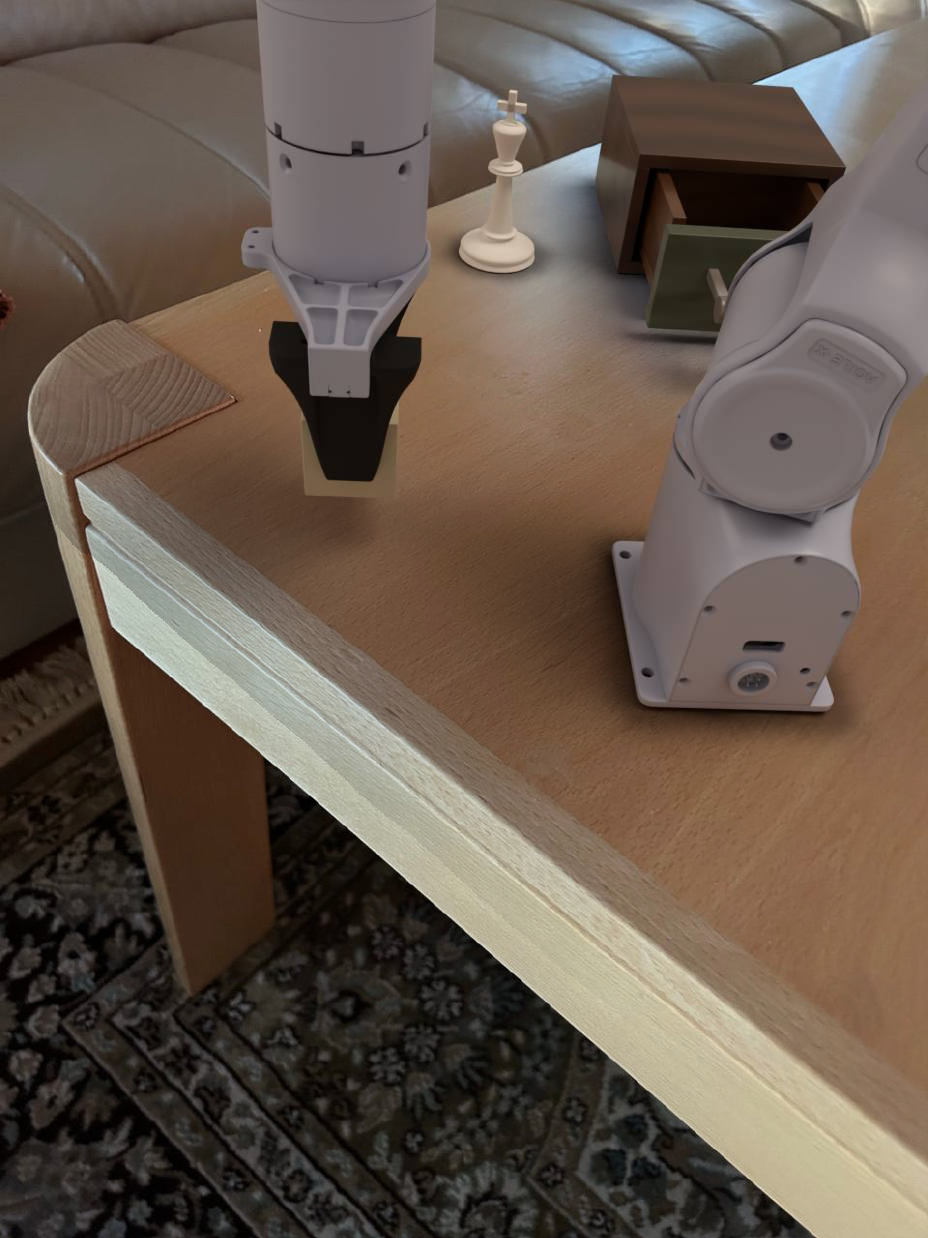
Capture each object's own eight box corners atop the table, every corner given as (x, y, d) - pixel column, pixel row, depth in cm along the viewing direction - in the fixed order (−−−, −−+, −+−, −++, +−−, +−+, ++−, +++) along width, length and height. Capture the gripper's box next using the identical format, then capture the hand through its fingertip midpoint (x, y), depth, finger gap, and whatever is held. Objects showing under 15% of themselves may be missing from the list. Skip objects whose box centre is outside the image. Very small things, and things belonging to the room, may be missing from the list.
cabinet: (806, 284, 67) (846, 166, 61) (616, 273, 66) (639, 153, 60) (762, 195, 76) (793, 86, 70) (594, 185, 75) (612, 73, 69)
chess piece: (528, 278, 64) (549, 112, 57) (451, 265, 65) (463, 99, 58) (539, 243, 68) (560, 83, 61) (467, 231, 68) (479, 70, 61)
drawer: (859, 383, 57) (899, 288, 53) (659, 373, 56) (683, 275, 52) (788, 242, 69) (815, 155, 64) (620, 232, 68) (637, 143, 64)
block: (396, 499, 45) (398, 424, 42) (304, 495, 45) (300, 419, 42) (398, 444, 48) (400, 369, 45) (312, 440, 47) (308, 365, 44)
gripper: (256, 44, 40) (278, 349, 50) (198, 210, 30) (239, 550, 40) (436, 56, 40) (422, 356, 50) (437, 223, 30) (420, 557, 40)
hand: (352, 442), depth 45 cm, fingers closed on block, 4 cm apart
